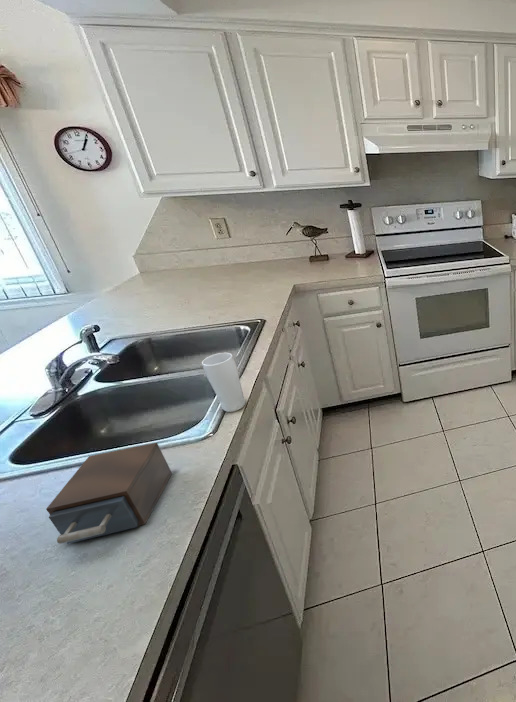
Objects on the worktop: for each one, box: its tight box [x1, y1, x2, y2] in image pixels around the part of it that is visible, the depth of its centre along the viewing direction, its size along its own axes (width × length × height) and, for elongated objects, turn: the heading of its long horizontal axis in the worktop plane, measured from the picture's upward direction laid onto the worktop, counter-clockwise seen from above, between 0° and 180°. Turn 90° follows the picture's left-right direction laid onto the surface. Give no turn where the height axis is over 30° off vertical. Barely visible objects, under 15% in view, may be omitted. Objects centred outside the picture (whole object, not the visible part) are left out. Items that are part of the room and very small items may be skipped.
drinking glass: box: [201, 352, 246, 413], centre depth 107 cm, size 7×7×15 cm
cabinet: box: [45, 442, 173, 527], centre depth 80 cm, size 14×12×9 cm
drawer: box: [48, 495, 139, 545], centre depth 77 cm, size 16×10×7 cm, turn 18°
